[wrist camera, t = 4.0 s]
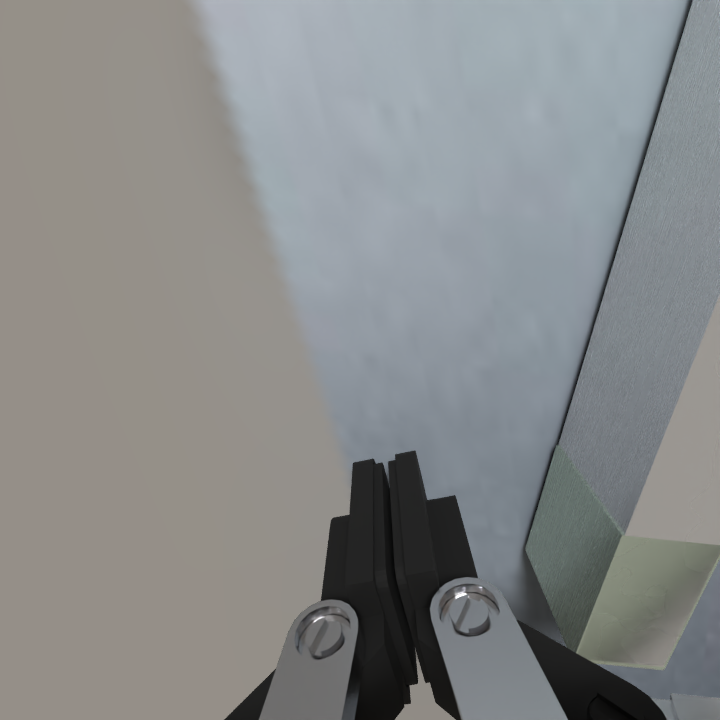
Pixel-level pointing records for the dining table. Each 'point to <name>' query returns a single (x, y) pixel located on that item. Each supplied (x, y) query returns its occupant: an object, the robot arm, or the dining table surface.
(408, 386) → the dining table surface
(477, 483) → the dining table surface
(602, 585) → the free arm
